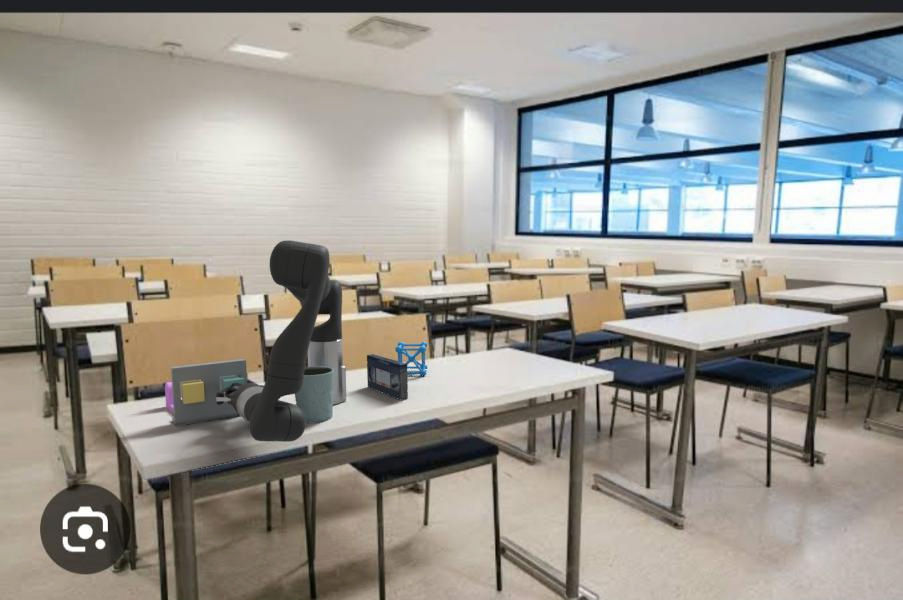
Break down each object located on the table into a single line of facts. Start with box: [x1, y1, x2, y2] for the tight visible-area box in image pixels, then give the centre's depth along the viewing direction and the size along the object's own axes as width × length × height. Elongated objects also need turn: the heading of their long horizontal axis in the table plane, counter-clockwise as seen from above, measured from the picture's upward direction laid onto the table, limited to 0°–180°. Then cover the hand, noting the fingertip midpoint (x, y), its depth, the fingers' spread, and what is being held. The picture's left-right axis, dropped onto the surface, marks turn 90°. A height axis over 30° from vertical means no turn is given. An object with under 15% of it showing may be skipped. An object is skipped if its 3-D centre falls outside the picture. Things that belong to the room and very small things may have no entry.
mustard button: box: [180, 380, 205, 404], centre depth 144 cm, size 5×6×5 cm
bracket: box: [164, 381, 183, 414], centre depth 155 cm, size 13×6×7 cm, turn 39°
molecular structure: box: [394, 341, 428, 376], centre depth 195 cm, size 10×10×10 cm
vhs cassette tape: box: [366, 353, 409, 400], centre depth 171 cm, size 18×3×10 cm, turn 37°
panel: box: [170, 358, 248, 427], centre depth 148 cm, size 17×5×14 cm, turn 123°
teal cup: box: [294, 366, 334, 423], centre depth 148 cm, size 10×10×12 cm
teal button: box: [220, 375, 244, 391], centre depth 147 cm, size 5×6×5 cm
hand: (234, 387), depth 145 cm, fingers closed
